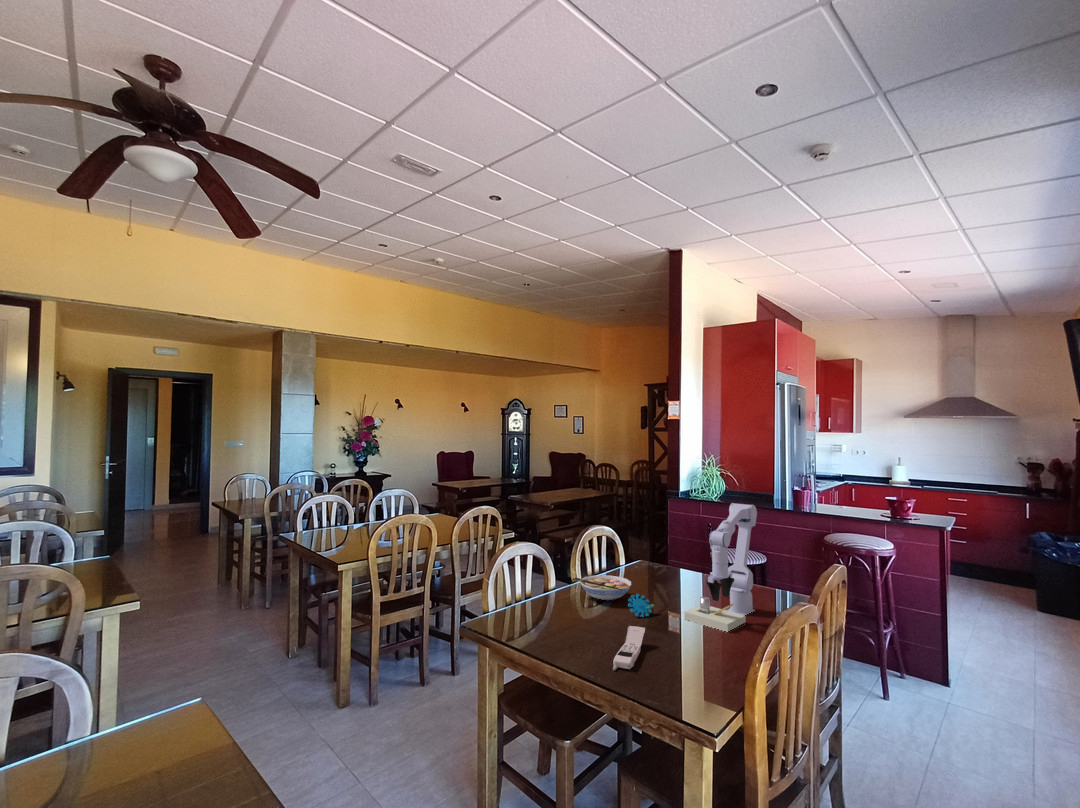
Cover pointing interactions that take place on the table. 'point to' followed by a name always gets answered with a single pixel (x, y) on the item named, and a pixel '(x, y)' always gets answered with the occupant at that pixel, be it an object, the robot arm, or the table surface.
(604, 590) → the ramen bowl
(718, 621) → the cream rectangular slab
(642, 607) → the blue spiky blob
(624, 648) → the mobile phone
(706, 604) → the peg
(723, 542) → the robot arm
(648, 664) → the table surface
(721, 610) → the latch
